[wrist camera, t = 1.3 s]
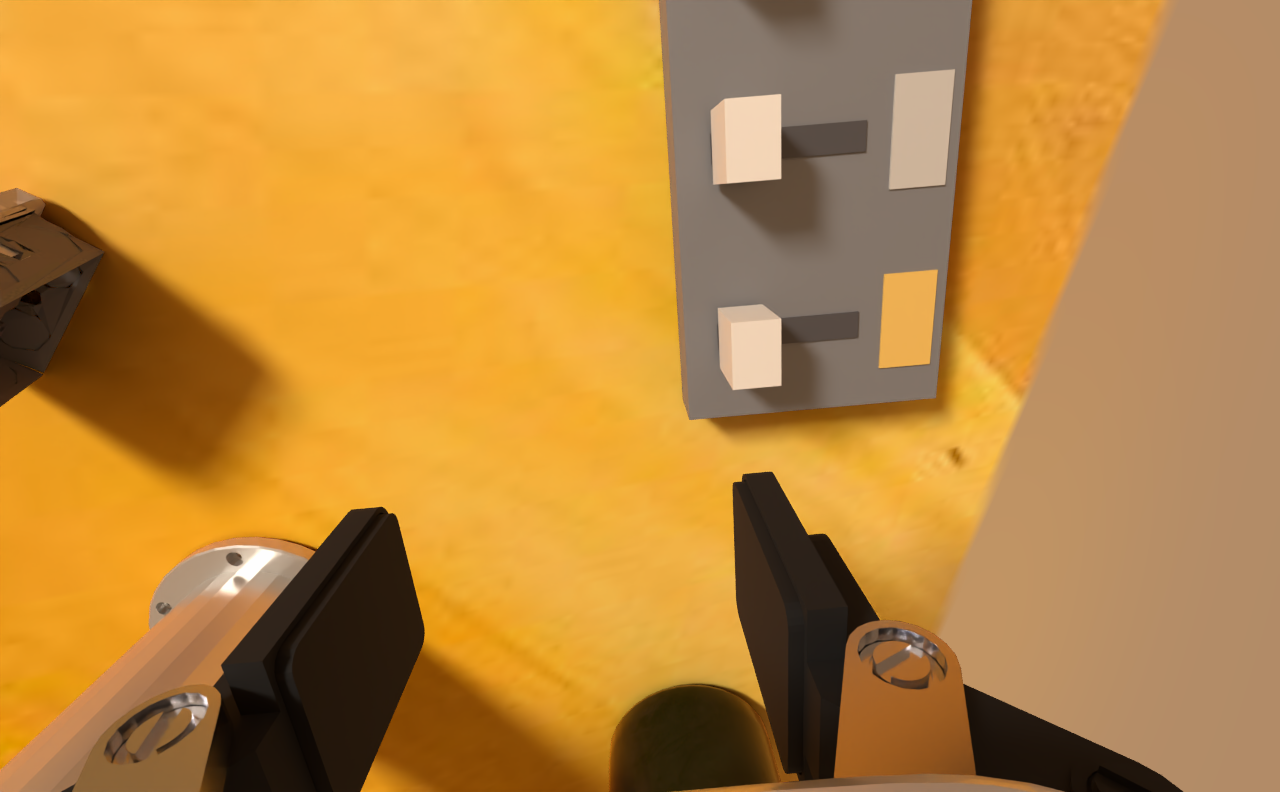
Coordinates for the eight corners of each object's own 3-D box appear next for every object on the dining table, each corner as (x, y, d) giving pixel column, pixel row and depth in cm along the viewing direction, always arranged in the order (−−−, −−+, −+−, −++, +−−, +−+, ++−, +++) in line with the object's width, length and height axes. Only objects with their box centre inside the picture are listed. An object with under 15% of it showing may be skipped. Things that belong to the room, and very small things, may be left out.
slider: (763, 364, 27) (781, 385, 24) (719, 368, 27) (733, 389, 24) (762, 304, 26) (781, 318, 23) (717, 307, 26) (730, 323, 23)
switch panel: (906, 379, 31) (936, 398, 28) (682, 399, 31) (689, 420, 28) (949, -193, 23) (996, -248, 20) (649, -170, 23) (653, -222, 20)
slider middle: (760, 180, 25) (781, 178, 22) (713, 184, 24) (726, 183, 21) (759, 106, 24) (781, 93, 21) (710, 110, 24) (724, 98, 21)
